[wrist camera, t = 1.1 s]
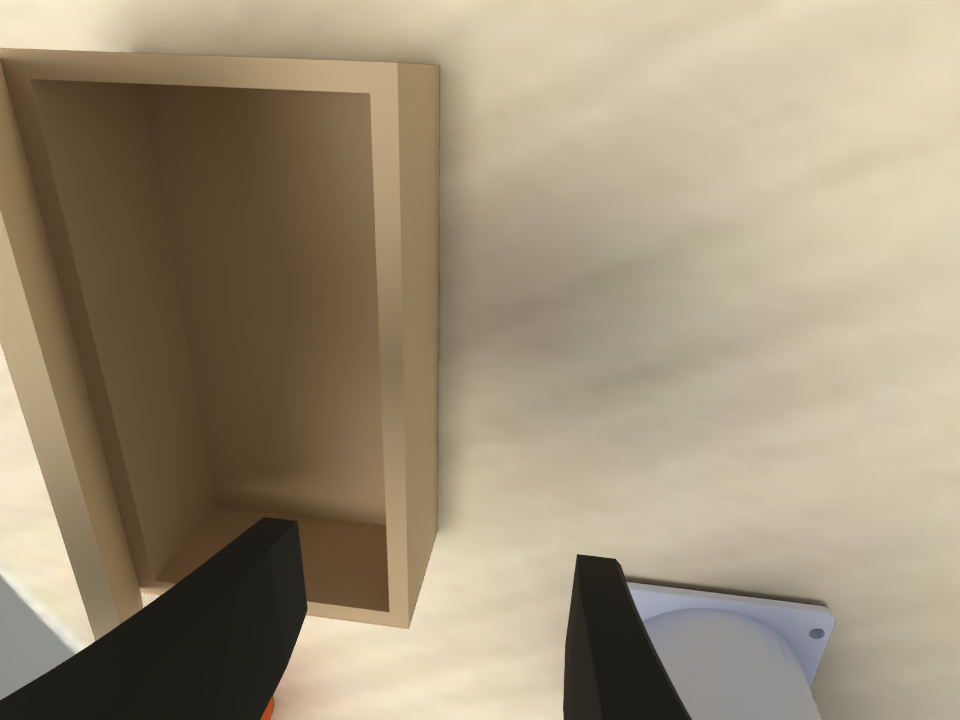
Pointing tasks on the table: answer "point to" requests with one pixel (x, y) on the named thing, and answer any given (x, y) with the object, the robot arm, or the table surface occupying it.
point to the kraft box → (251, 302)
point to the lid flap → (57, 394)
